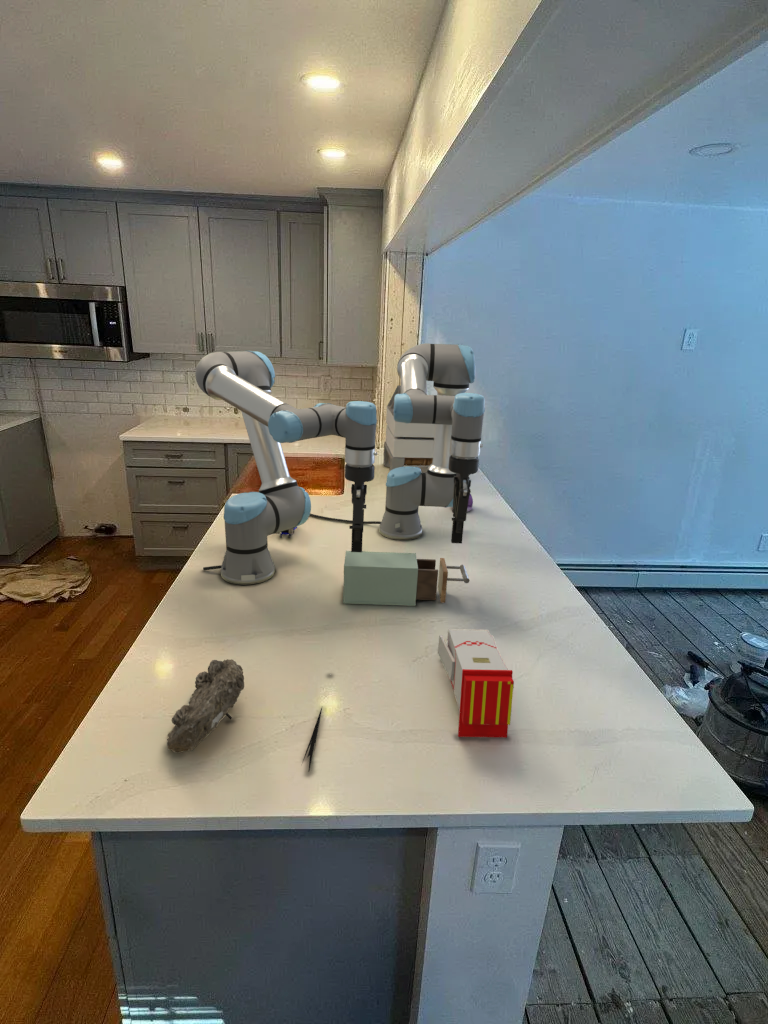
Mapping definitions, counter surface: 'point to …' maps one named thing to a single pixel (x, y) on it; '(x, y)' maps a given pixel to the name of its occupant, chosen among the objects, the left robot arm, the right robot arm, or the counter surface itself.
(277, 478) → the left robot arm
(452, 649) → the toy
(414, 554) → the cabinet
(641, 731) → the counter surface
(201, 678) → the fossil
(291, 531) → the figurine character
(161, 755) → the counter surface
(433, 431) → the white slatted crate
